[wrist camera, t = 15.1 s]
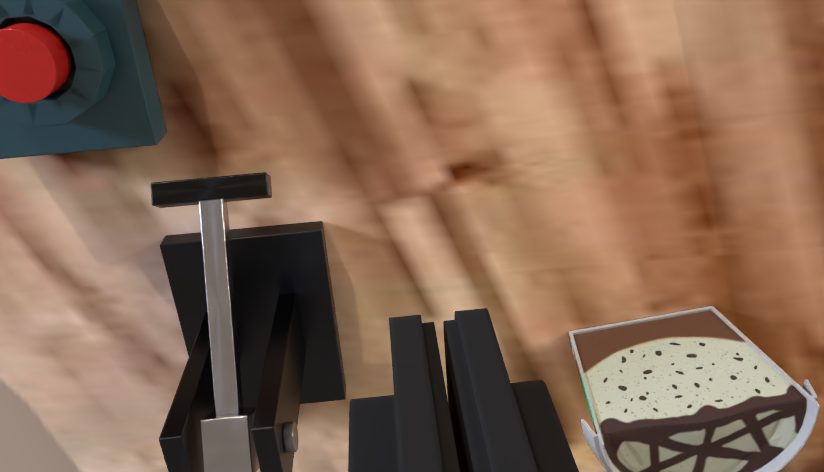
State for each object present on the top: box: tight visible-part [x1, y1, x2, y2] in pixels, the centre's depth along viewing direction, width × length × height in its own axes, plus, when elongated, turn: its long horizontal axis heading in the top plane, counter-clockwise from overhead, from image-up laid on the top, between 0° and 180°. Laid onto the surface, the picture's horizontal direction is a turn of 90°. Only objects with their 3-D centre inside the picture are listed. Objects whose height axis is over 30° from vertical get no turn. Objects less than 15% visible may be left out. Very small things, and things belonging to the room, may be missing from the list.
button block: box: [0, 0, 167, 159], centre depth 33 cm, size 10×8×4 cm
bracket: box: [159, 221, 346, 472], centre depth 37 cm, size 12×9×13 cm
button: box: [0, 22, 71, 103], centre depth 31 cm, size 3×3×2 cm
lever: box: [151, 172, 272, 472], centre depth 33 cm, size 14×6×2 cm, turn 4°
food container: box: [568, 306, 820, 472], centre depth 41 cm, size 12×6×10 cm, turn 100°
